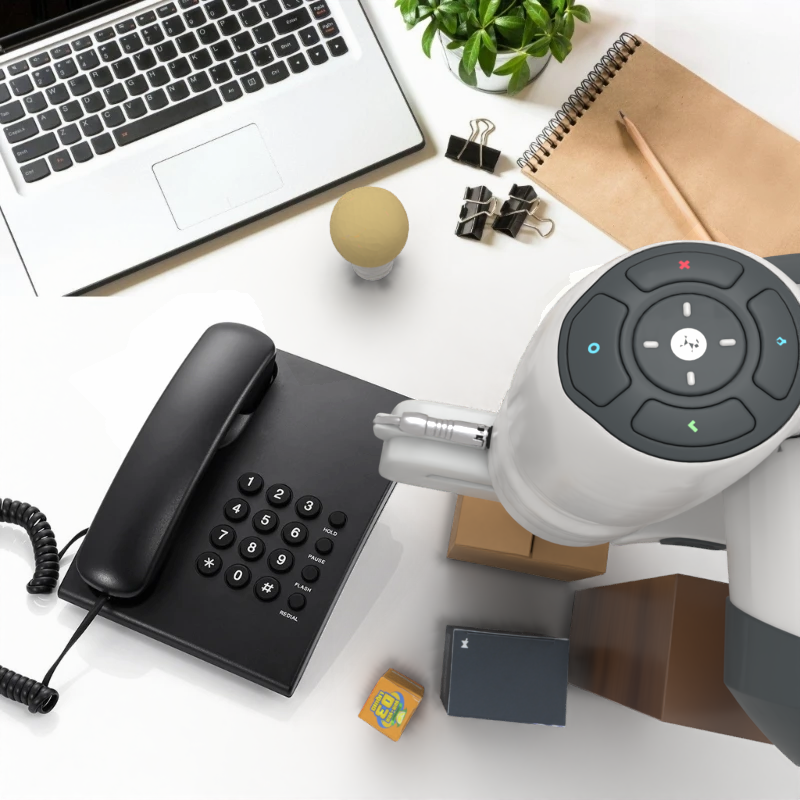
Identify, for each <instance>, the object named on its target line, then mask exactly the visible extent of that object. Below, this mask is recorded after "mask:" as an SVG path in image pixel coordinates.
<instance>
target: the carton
mask: <svg viewBox="0 0 800 800" xmlns="http://www.w3.org/2000/svg"><path fill="white" fill-rule="evenodd" d="M463 498H464V495H459V494H457V498H456V503H455V508H454V513H453V519H452V524H451V529H450V536H449V541H448V548H447V553H446V558H448V559H452V560H456V561H460V562H465V563H471V564H475V565H482V566H486V567H492V568H496V569H500V570H506V571H511V572H517V573H520V574H521V573H522V574H526V575H532V576H536V577H541V578H547V579H552V580H557V581H560V582H566V583H573V582H576V581H581V580H582V581H583V580H585V579H590V578H595V577H599V576H603V575H605V574H606V572H607V566H608V565H607V564H608V557H609V549H610V542H607V543H604V544H600V545H595V546H588V547H573V546H565V545H560V544H556V543H552V542H549V541H547V540H544V539H542V538H540V537H538V536H536V535H534V534H533V537H532V543H531V550H530V556H523V555H517V554H511V553H505V552H500V551H494V550H488V549H482V548H476V547H470V546H465V545H459V544H456V537H457V532H458V526H459V520H460V515H461V509H462V504H463Z"/></svg>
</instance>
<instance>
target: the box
mask: <svg viewBox="0 0 800 800" xmlns="http://www.w3.org/2000/svg"><path fill="white" fill-rule="evenodd" d="M444 631H445V634H444V643H443V644H444V645H443V657H442V668H441V669H442V670H441V682H440V691H439V692H440V693H439V699H440V702H441V704H442V706H443V708H444V711H445V713H446V715H447V716H449V717H455V718H469V719H476V720H488V721H496V722H497V721H499V722H507V723H516V724H526V725H537V726H545V727H546V726H548V727H557V728H566V724H567V703H568V702H567V700H568V684H569V683H568V667H569V650H570V640H569V637H568V638H567V637H559V636H552V635H546V634H541V633H540V634H539V633H532V632H525V631H518V630H517V631H516V630H506V629H496V628H486V627H476V626H475V627H474V626H463V625H462V626H461V625H452V624H446V626H445V630H444Z"/></svg>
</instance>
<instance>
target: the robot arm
mask: <svg viewBox="0 0 800 800" xmlns="http://www.w3.org/2000/svg"><path fill="white" fill-rule="evenodd" d="M516 365H517V366H516V368H515V371H514V373H513V376H512V379H511V382H510V386H509V388H508V389H507V391H506V393H505V394H504V395H505V396H503V399H502V402H501V404H500V407H499V409H498V411H496V412H495V411H489V410H484V409H479V408H473V407H468V406H462V405H457V404H453V403H452V404H451V403H446V402H440V401H436V400H429V399H405V400H403V401H400V402H398V404H397V405H395V406H394V408H393V409H392V410H391V412H390V413H385V412H379V413H377V414H375V417H374V418H373V420H372V421H371V424H372V430H373V435H374V436H375V437H376V438H377V439H379V440H382V441H383V443H382V448H381V453H380V459H379V465H378V474H379V475H380V476H381V477H382V478H384V479H386V480H388V481H391V482H395V483H398V484H402V485H407V486H413V487H419V488H423V489H429V490H433V491H434V490H435V491H439V492H444V493H450V494H455V495H458V494H459V495H465V496H470V497H475V498H480V499H485V500H491V501H496V502H501V504H502V505H503V507H504V508H505V509H506V511H507V512H508V513H509V514H510V515H511V517H512V518H513V519H514V520H515V521H516V522H517V523H519V524H520V525H521V526H522V527H524V528H525V529H526V530H528V531H529V532H531V533H532V534H534V535H536V536H538V537H540V538H542V539H544V540H547V541H549V542H552V543H556V544H560V545H565V546H573V547H588V546H595V545H600V544H604V543H607V542H609V545H611V546H615V547H618V546H627V545H635V544H636V545H637V544H660V545H664V546H678V547H688V548H695V549H700V550H701V549H703V550H709V551H723V552H726V562H727V563H726V564H727V577H728V578H727V579H728V583H729V594H730V596H728V597H726V605H725V643H724V680H723V681H724V683H725V685H726V686H727V688H728V689H729V690H730V692H731V693H732V695H733V696H734V697H735V699H736V700H737V702H738V703H739V704H740V706H741V707H742V708H743V710H744V711H745V712H746V714H747V715H748V716H749V717H750V718H751V720H752V721H753V722H754V723H755V724H756V726H757V727H758V728H759V729H760V730H761V731H762V732H763V734H764V735H765V736H766V737H767V738H768V739H769V740H770V741H771V742H772V743H773V744H774V745H773V746H774V747H776V749H777V750H778V751H780V753H781V754H783V755H784V756H785V757H786V758H787V759H788V760H789V761H790V762H791V763H792V764H794V765H795V766H796V767H798V768H800V252H796V253H786V254H778V255H769V256H765V257H764V256H763V257H761V256H759V255H757V254H755V253H753V252H751V251H748V250H746V249H743V248H740V247H739V246H735V245H732V244H728V243H723V242H718V241H712V240H703V239H700V240H699V239H674V240H673V239H672V240H664V241H659V242H654V243H650V244H646V245H643V246H641V247H637V248H635V249H632V250H630V251H628V252H626V253H623V254H621V255H619V256H617V257H615V258H613V259H611V260H609V261H607V262H605V263H604V264H602V265H601V266H599V267H598V268H596V269H594V270H593V271H591V272H589V273H588V274H587V275H586V276H584V277H583V278H581V279H580V280H579V281H578V282H576V283H575V284H574V285H573V286H572V287H570V288H569V289H568V290H567V291H566V292H565V293H564V294H563V295H562V296H560V297H559V298H558V299H557V301H556V302H555V303H554V304H553V306H552V307H551V308H550V309H549V311H548V312H547V313H546V314H545V316H544V317H543V319H542V320H541V321H540V323H539V325H538V326H537V327H536V329H535V331H534V332H533V334H532V336H531V337H530V340H529V341H528V343H527V345H526V347H525V349H524V352H522V355H521V357H520V359H519V362H518V363H517V364H516Z"/></svg>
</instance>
